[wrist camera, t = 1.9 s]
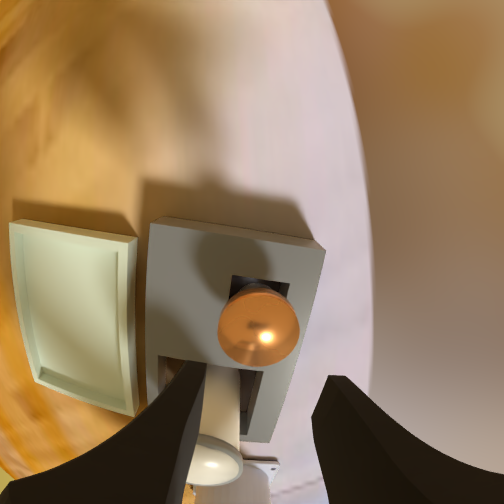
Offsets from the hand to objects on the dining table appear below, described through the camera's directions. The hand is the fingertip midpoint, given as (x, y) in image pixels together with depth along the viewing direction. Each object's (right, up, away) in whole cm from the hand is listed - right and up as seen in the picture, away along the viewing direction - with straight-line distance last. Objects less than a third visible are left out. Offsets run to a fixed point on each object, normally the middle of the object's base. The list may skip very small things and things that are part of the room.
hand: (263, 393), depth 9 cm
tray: (-13, -1, +10) cm, 16 cm away
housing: (-2, -1, +10) cm, 10 cm away
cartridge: (-3, -5, +11) cm, 12 cm away
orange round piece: (0, +2, +7) cm, 7 cm away
